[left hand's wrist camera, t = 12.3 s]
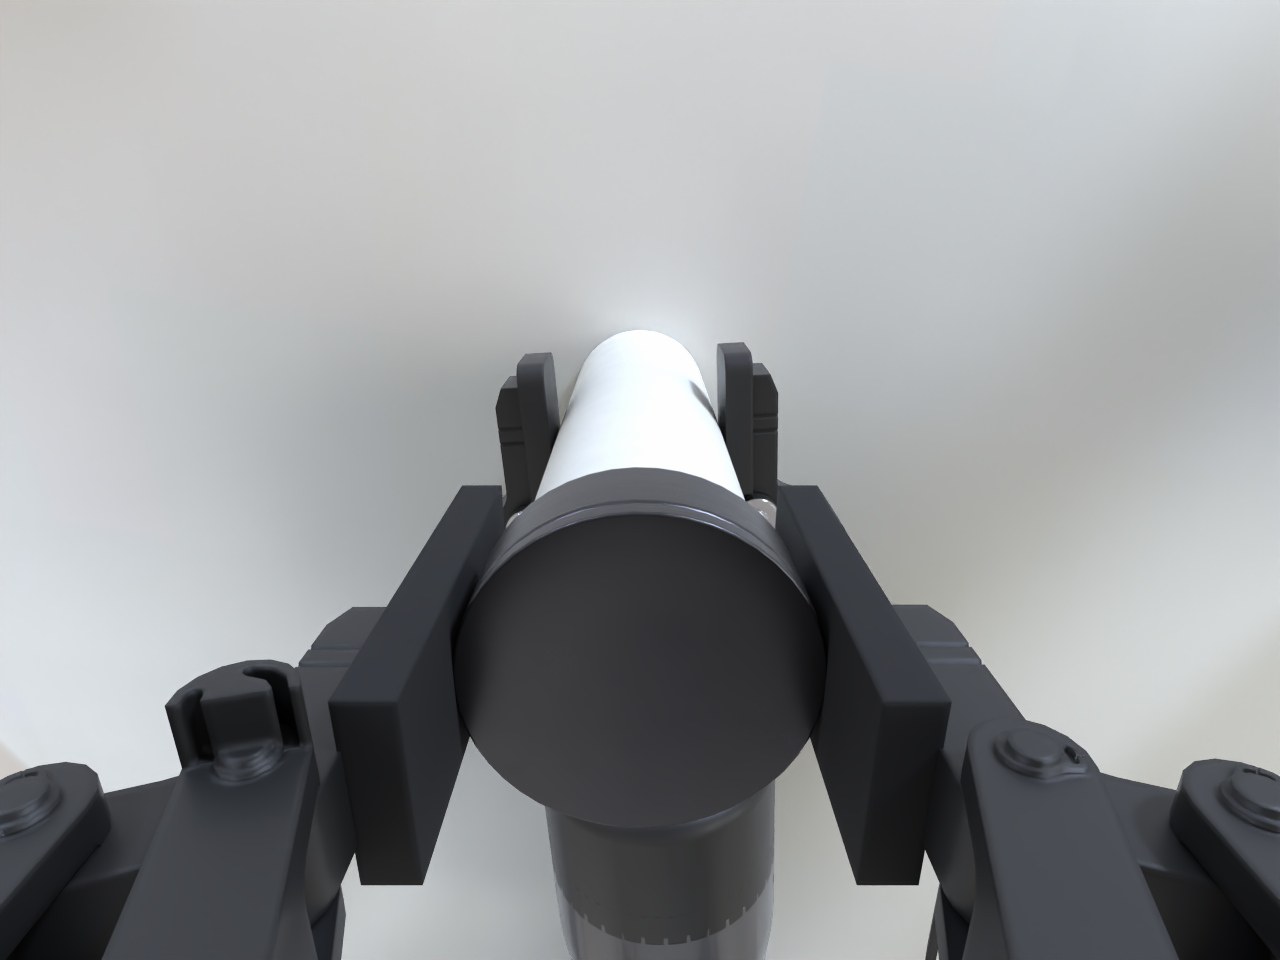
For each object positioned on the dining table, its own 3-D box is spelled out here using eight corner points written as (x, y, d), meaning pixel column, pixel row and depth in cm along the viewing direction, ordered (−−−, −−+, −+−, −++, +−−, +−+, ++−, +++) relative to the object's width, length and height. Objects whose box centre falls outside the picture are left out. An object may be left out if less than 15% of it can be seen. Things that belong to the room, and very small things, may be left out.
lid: (495, 750, 13) (473, 833, 11) (459, 470, 11) (427, 517, 10) (794, 743, 13) (818, 825, 11) (809, 459, 11) (840, 506, 9)
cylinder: (580, 454, 27) (502, 790, 12) (572, 331, 26) (469, 531, 10) (703, 451, 27) (787, 783, 12) (702, 327, 26) (800, 522, 10)
